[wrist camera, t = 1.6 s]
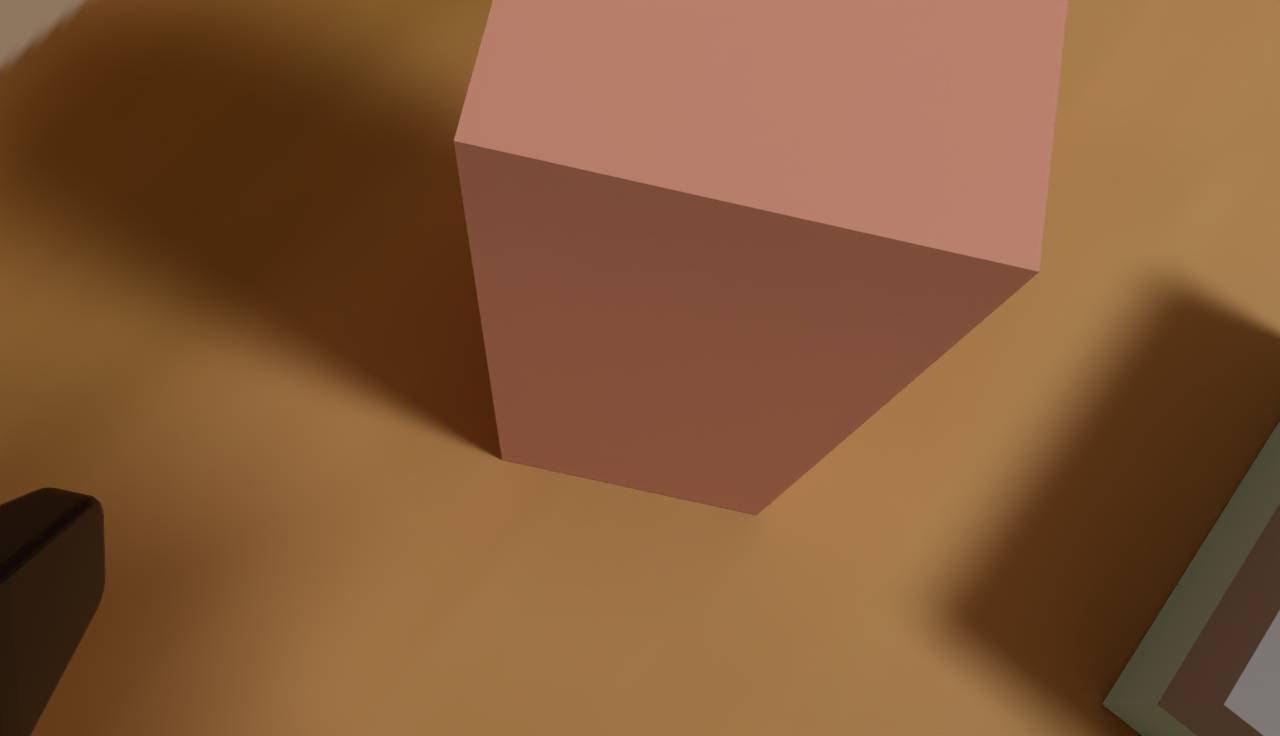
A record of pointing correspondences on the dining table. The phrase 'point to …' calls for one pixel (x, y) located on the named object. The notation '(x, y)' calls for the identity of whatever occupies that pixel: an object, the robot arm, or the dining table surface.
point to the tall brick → (742, 221)
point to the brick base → (1195, 597)
